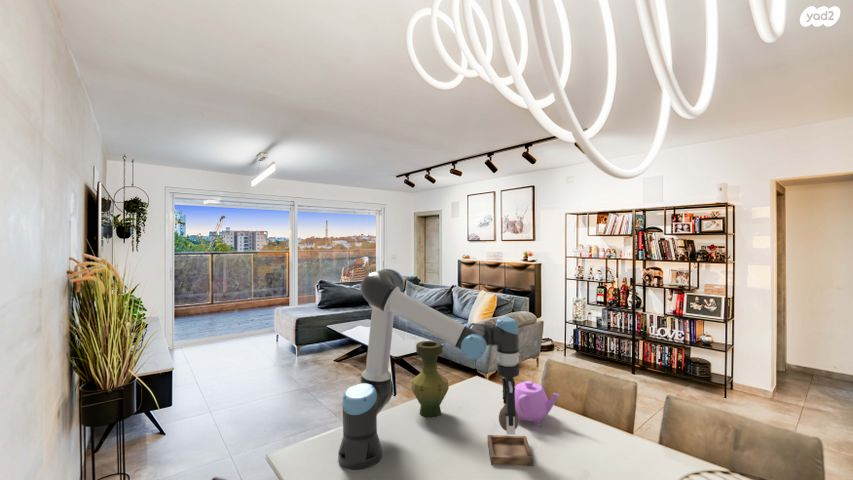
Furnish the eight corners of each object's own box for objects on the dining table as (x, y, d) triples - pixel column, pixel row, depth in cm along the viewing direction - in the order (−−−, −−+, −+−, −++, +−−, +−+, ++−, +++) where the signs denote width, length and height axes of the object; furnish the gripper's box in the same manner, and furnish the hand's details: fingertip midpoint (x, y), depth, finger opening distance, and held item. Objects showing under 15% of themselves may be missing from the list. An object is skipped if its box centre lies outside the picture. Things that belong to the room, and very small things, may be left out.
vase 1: (454, 409, 167) (454, 341, 167) (439, 425, 153) (438, 351, 153) (422, 402, 174) (421, 337, 174) (404, 417, 160) (403, 346, 160)
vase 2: (519, 434, 128) (519, 408, 128) (498, 432, 129) (498, 407, 129) (518, 424, 135) (518, 400, 135) (499, 423, 136) (498, 399, 136)
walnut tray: (490, 464, 126) (490, 456, 126) (487, 441, 140) (487, 434, 140) (533, 466, 125) (533, 458, 125) (526, 443, 139) (525, 436, 139)
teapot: (551, 437, 142) (551, 397, 142) (501, 424, 153) (501, 387, 153) (563, 416, 159) (562, 380, 159) (516, 405, 170) (516, 372, 170)
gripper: (523, 373, 122) (525, 443, 122) (514, 354, 142) (515, 415, 142) (500, 372, 123) (501, 443, 123) (494, 354, 142) (495, 415, 142)
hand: (509, 428), depth 132 cm, fingers closed on vase 2, 7 cm apart
